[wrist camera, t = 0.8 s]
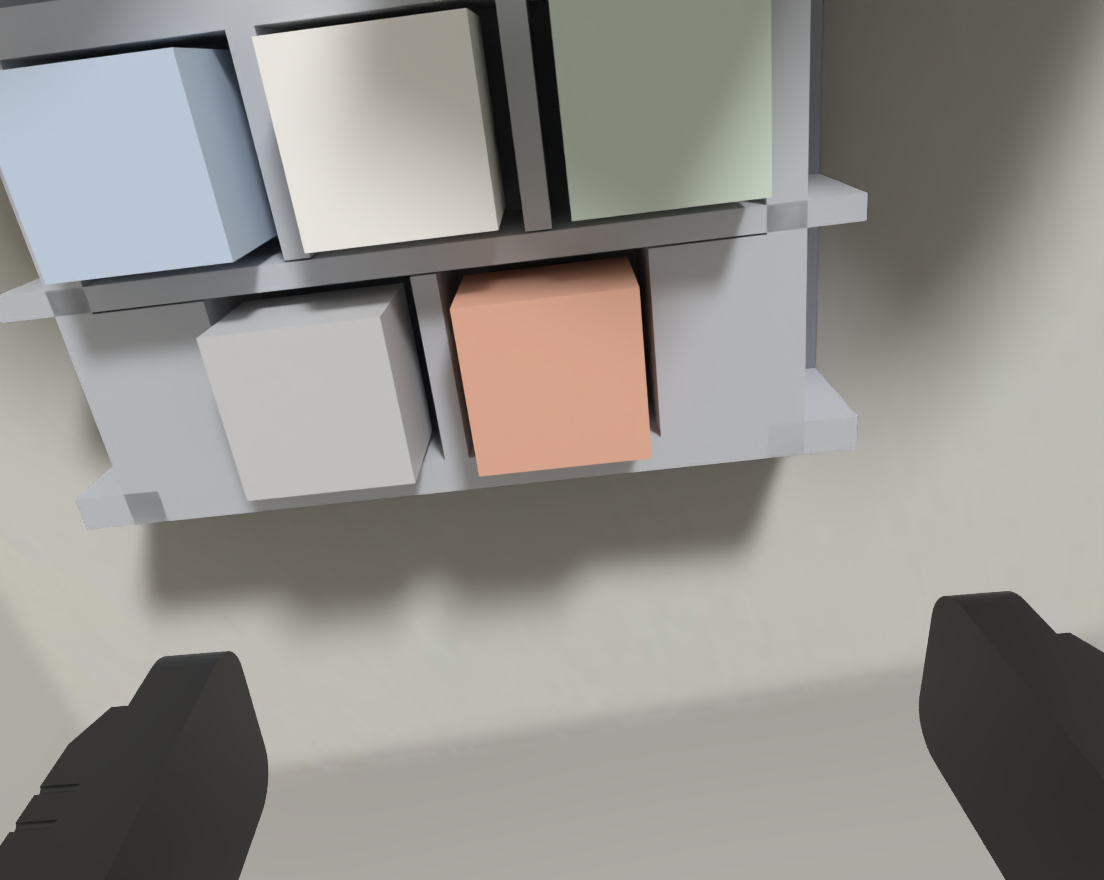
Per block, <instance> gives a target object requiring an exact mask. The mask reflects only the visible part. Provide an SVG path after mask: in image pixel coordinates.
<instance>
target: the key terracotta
mask: <svg viewBox="0 0 1104 880" xmlns="http://www.w3.org/2000/svg"><path fill="white" fill-rule="evenodd" d="M450 313H451V319H452V324H453V330H454V336H455V341H456V347H457V353H458V358H459V364H460V370H461V376H462V381H463V387H464V393H465V398H466V404H467V410H468V415H469V421H470V427H471V433H472V438H473V444H474V450H475V455H476V461H477V467H478V472H479V477H480V476H489V475H499V474H508V473H518V472H527V471H537V470H546V469H556V468H565V467H575V466H584V465H593V464H603V463H612V462H622V461H631V460H641V459H650V458H652V452H651V439H650V425H649V412H648V398H647V384H646V371H645V357H644V343H643V330H642V316H641V303H640V289H639V285H638V282H637V280H636V277H635V275H634V272H633V270H632V267H631V265H630V262H629V260H628V257H627V256H625V257H616V258H608V259H599V260H591V261H582V262H574V263H565V264H557V265H549V266H540V267H532V268H523V269H515V270H506V271H498V272H489V273H481V274H472V275H464V276H463V279H462V281H461V283H460V286H459V288H458V291H457V293H456V295H455V298H454V300H453V303H452V305H451V308H450Z"/></svg>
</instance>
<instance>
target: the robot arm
mask: <svg viewBox="0 0 1104 880" xmlns="http://www.w3.org/2000/svg"><path fill="white" fill-rule="evenodd" d="M919 715H920V723H921V728H922V733H923V736H924V739H925V742H926V745H927V748H928V750H929V752H930V754H931V756H932V758H933V760H934V762H935V763H936V765H937V767H938V768H939V770H940V772H941V773H942V775H943V777H944V778H945V780H946V782H947V783H948V785H949V787H950V788H951V790H952V792H953V793H954V795H955V796H956V798H957V800H958V802H959V803H960V805H961V807H962V808H963V810H964V812H965V813H966V815H967V817H968V818H969V820H970V821H971V823H972V825H973V826H974V828H975V830H976V831H977V833H978V835H979V836H980V838H981V840H982V841H983V843H984V845H985V846H986V848H987V850H988V851H989V853H990V855H991V856H992V858H993V860H994V861H995V863H996V865H997V866H998V868H999V870H1000V871H1001V873H1002V875H1003V876H1004V878H1005V880H1104V653H1103V652H1102V651H1100V650H1098V649H1097V648H1095V647H1093V646H1092V645H1090V644H1088V643H1086V642H1085V641H1083V640H1081V639H1080V638H1078V637H1076V636H1075V635H1073V634H1071V633H1061V634H1056V633H1055V632H1054V630H1053V629H1052V628H1051V627H1050V626H1049V625H1048V624H1047V623H1046V622H1045V621H1044V620H1043V619H1042V618H1041V617H1040V616H1039V615H1038V614H1037V613H1036V612H1035V611H1034V610H1033V609H1032V608H1031V606H1030V605H1029V604H1028V603H1027V602H1026V601H1025V600H1024V599H1023V598H1022V597H1020V596H1019V595H1018V594H1016V593H1014V592H1011V591H1003V592H990V593H978V594H965V595H953V596H943V597H941V598H939V599H938V600H937V602H936V603H935V606H934V608H933V612H932V618H931V625H930V631H929V638H928V644H927V651H926V658H925V664H924V671H923V677H922V684H921V691H920V697H919ZM267 786H268V760H267V753H266V749H265V745H264V742H263V738H262V735H261V731H260V728H259V724H258V721H257V717H256V714H255V711H254V707H253V704H252V700H251V697H250V693H249V690H248V686H247V683H246V679H245V676H244V673H243V669H242V666H241V663H240V661H239V659H238V657H237V656H236V655H235V654H234V653H233V652H230V651H226V652H213V653H200V654H188V655H175V656H165V657H162V658H160V659H159V660H158V661H157V662H156V663H155V664H154V665H153V667H152V668H151V670H150V671H149V673H148V675H147V676H146V678H145V679H144V681H143V683H142V684H141V686H140V687H139V689H138V691H137V692H136V694H135V695H134V697H133V699H132V700H131V702H130V704H129V705H128V706H120V707H111V708H110V709H109V710H108V711H106V712H105V713H104V714H103V715H102V716H101V717H100V718H98V719H97V720H96V721H95V722H94V723H93V724H91V725H90V726H89V727H88V728H87V729H86V730H85V731H83V732H82V733H81V734H80V735H79V736H78V737H76V738H75V739H74V740H73V741H72V742H71V743H70V744H69V745H68V746H67V747H66V749H65V750H64V752H63V753H62V755H61V756H60V758H59V759H58V761H57V762H56V764H55V765H54V767H53V768H52V770H51V771H50V773H49V774H48V776H47V777H46V779H45V780H44V782H43V783H42V785H41V786H40V788H41V790H40V794H39V795H34V797H33V798H32V799H31V801H30V802H29V804H28V805H27V807H26V808H25V810H24V811H23V813H22V814H21V816H20V817H19V819H18V820H17V822H16V830H15V832H9V834H8V835H7V837H6V838H5V840H4V841H3V842H2V844H1V845H0V880H238V879H239V877H240V874H241V871H242V868H243V865H244V862H245V859H246V857H247V854H248V851H249V848H250V845H251V842H252V839H253V837H254V834H255V831H256V828H257V825H258V822H259V820H260V817H261V813H262V811H263V808H264V804H265V799H266V794H267Z"/></svg>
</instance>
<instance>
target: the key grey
mask: <svg viewBox="0 0 1104 880" xmlns="http://www.w3.org/2000/svg"><path fill="white" fill-rule="evenodd" d="M196 340H197V343H198V346H199V349H200V352H201V356H202V359H203V362H204V365H205V368H206V371H207V375H208V378H209V381H210V384H211V387H212V390H213V394H214V397H215V400H216V403H217V406H218V409H219V413H220V416H221V419H222V422H223V425H224V428H225V431H226V435H227V438H228V441H229V444H230V447H231V450H232V454H233V457H234V460H235V463H236V466H237V469H238V473H239V476H240V479H241V482H242V485H243V488H244V492H245V495H246V498H247V501H253V500H263V499H272V498H281V497H291V496H300V495H310V494H319V493H329V492H338V491H348V490H357V489H367V488H376V487H385V486H395V485H404V484H414V483H416V480H417V477H418V474H419V471H420V468H421V464H422V461H423V458H424V455H425V452H426V449H427V446H428V443H429V440H430V437H431V434H432V425H431V420H430V415H429V410H428V405H427V400H426V395H425V390H424V385H423V380H422V375H421V369H420V364H419V359H418V354H417V349H416V344H415V339H414V334H413V329H412V324H411V319H410V314H409V309H408V304H407V299H406V294H405V288H404V283H396V284H387V285H379V286H371V287H362V288H354V289H345V290H337V291H328V292H320V293H311V294H303V295H294V296H286V297H277V298H269V299H260V300H252V301H244V302H243V303H242V304H240V305H239V306H238V307H236V308H235V309H234V310H233V311H231V312H230V313H229V314H227V315H226V316H225V317H223V318H222V319H221V320H220V321H218V322H217V323H216V324H214V325H213V326H212V327H211V328H209V329H208V330H207V331H205V332H204V333H203V334H201V335H200V336H199V337H198V338H196Z"/></svg>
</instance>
